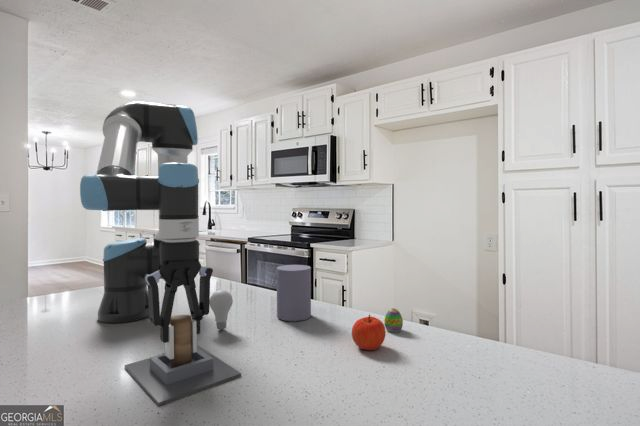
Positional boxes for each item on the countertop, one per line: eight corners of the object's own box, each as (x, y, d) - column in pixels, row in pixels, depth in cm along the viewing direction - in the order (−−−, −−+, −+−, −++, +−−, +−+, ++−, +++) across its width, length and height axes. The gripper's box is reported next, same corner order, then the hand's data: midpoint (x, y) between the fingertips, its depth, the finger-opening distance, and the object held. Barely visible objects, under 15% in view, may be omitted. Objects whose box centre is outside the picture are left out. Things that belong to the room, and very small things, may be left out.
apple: (388, 343, 91) (388, 311, 91) (382, 356, 84) (382, 321, 83) (356, 339, 94) (356, 308, 94) (348, 351, 86) (348, 317, 86)
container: (270, 319, 110) (270, 269, 110) (286, 310, 120) (286, 263, 119) (302, 323, 106) (302, 271, 106) (316, 313, 116) (316, 265, 115)
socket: (124, 367, 78) (124, 354, 78) (197, 347, 89) (197, 335, 89) (158, 406, 63) (158, 389, 63) (241, 376, 74) (241, 361, 74)
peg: (167, 366, 76) (166, 317, 76) (186, 360, 79) (185, 313, 79) (175, 372, 73) (174, 322, 73) (195, 366, 76) (194, 318, 76)
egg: (406, 330, 101) (406, 308, 100) (396, 335, 97) (396, 312, 97) (390, 326, 104) (390, 305, 104) (380, 330, 100) (380, 308, 100)
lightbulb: (226, 335, 97) (226, 293, 97) (205, 333, 98) (205, 292, 98) (236, 327, 103) (236, 288, 103) (216, 325, 104) (216, 287, 104)
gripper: (141, 244, 67) (143, 372, 67) (226, 238, 78) (227, 347, 79) (128, 241, 72) (130, 360, 73) (210, 235, 84) (211, 338, 85)
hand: (181, 353), depth 76 cm, fingers closed on peg, 4 cm apart
